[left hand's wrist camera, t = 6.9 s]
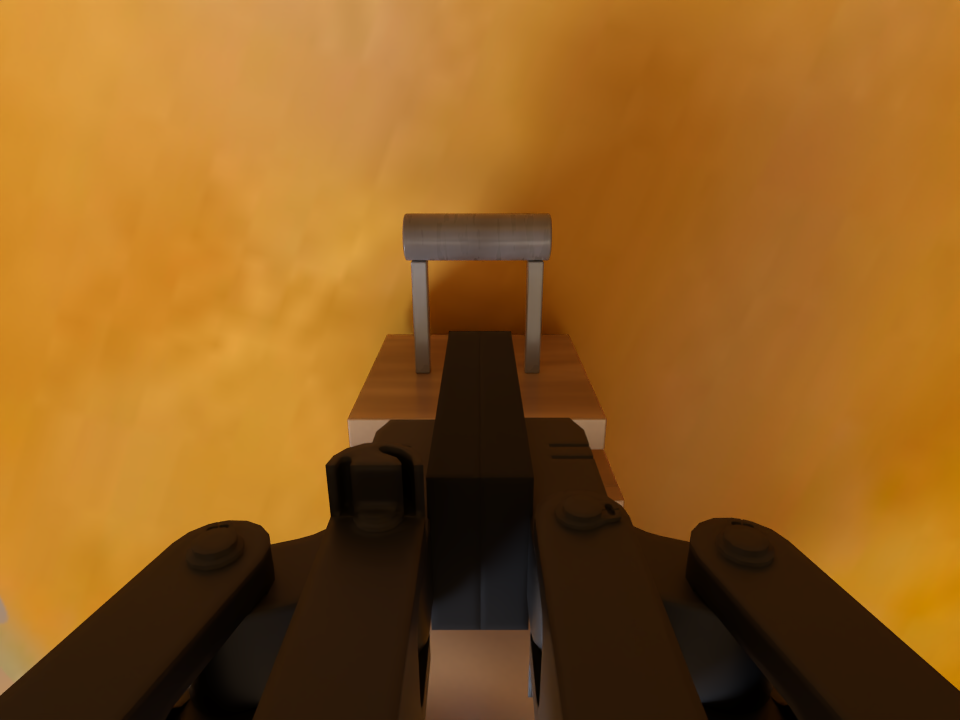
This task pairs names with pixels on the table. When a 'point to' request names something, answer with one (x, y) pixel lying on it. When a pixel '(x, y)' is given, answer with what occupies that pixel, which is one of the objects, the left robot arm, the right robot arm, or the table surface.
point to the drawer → (420, 357)
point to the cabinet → (488, 660)
